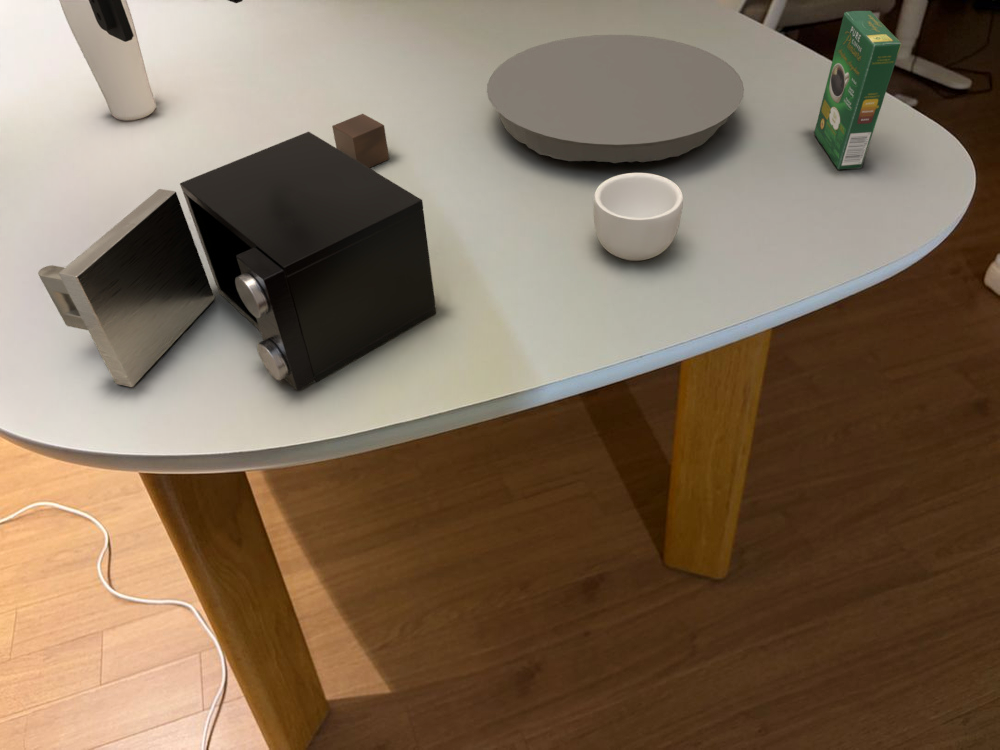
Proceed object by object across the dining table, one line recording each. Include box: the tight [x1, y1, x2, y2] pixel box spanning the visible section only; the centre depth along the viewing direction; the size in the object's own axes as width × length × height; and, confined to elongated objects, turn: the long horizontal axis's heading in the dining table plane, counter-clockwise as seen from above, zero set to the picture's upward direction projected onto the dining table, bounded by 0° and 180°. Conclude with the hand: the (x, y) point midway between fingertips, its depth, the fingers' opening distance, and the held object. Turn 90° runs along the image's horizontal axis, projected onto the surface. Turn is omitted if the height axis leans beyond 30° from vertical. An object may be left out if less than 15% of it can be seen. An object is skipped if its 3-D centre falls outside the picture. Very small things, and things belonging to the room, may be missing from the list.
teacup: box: [592, 172, 684, 262], centre depth 72 cm, size 10×8×5 cm
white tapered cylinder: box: [58, 0, 157, 122], centre depth 93 cm, size 7×7×15 cm
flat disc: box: [486, 34, 745, 164], centre depth 90 cm, size 28×28×4 cm
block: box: [331, 113, 390, 169], centre depth 86 cm, size 4×4×4 cm
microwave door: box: [37, 188, 215, 388], centre depth 63 cm, size 7×12×11 cm, turn 162°
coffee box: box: [813, 10, 902, 170], centre depth 80 cm, size 8×3×13 cm, turn 2°
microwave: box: [179, 131, 437, 391], centre depth 65 cm, size 14×16×11 cm
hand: (177, 17), depth 63 cm, fingers open, 9 cm apart
